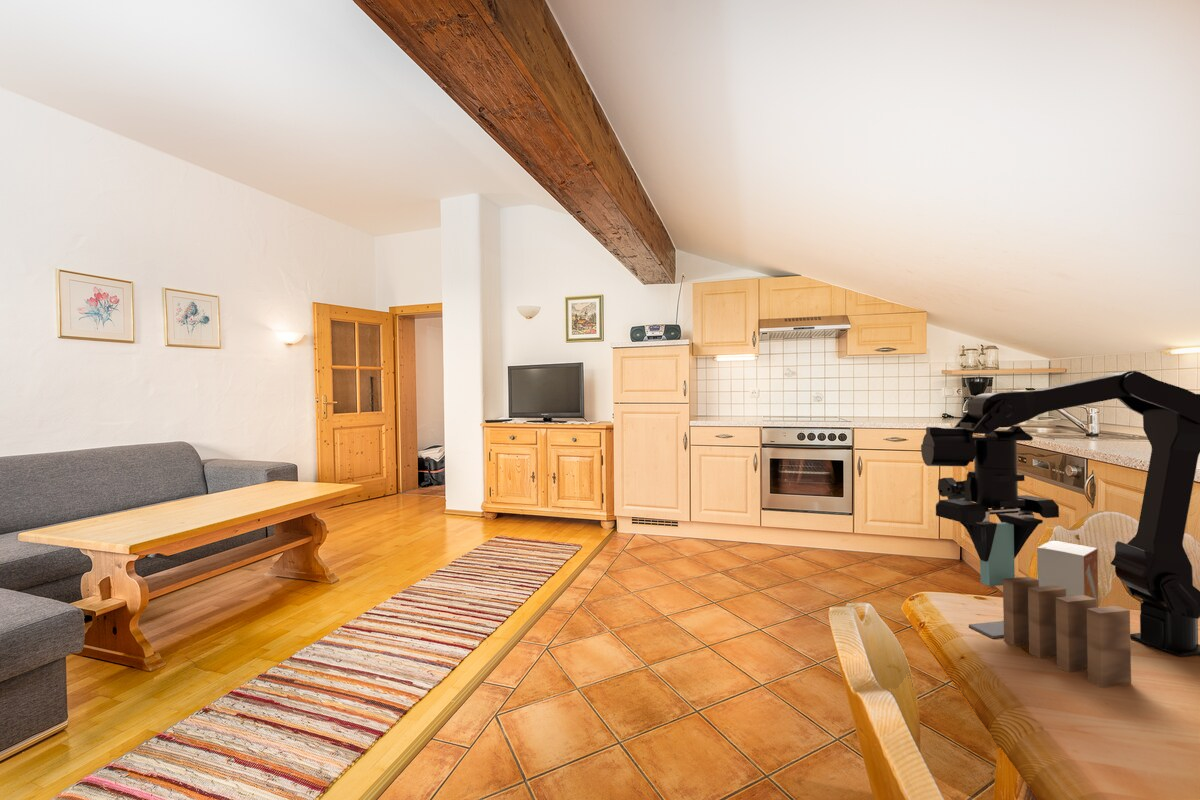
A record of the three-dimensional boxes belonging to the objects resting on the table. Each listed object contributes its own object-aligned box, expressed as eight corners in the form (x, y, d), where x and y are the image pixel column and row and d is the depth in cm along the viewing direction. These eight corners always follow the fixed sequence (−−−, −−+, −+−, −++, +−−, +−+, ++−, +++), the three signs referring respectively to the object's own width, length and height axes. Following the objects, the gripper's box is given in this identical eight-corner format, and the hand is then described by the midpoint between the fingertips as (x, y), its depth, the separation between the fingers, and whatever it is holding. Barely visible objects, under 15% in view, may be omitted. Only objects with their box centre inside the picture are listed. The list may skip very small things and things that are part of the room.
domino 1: (1005, 580, 86) (1004, 522, 86) (1014, 584, 84) (1013, 524, 84) (980, 583, 85) (979, 523, 85) (989, 586, 83) (988, 526, 84)
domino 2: (1029, 638, 82) (1028, 576, 82) (1040, 642, 80) (1038, 580, 80) (1003, 640, 81) (1002, 578, 81) (1013, 645, 79) (1012, 582, 80)
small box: (1085, 634, 83) (1084, 555, 83) (1036, 621, 88) (1035, 546, 88) (1100, 622, 87) (1098, 547, 87) (1052, 610, 93) (1051, 539, 93)
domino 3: (1056, 649, 78) (1054, 585, 78) (1067, 654, 76) (1066, 589, 76) (1029, 653, 77) (1027, 587, 77) (1039, 658, 75) (1038, 591, 76)
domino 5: (1117, 677, 70) (1115, 605, 70) (1131, 683, 68) (1129, 610, 69) (1087, 681, 69) (1086, 608, 69) (1101, 687, 68) (1100, 613, 68)
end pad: (1003, 623, 87) (1003, 620, 87) (1028, 634, 83) (1028, 632, 83) (968, 626, 86) (968, 624, 86) (992, 638, 82) (992, 635, 82)
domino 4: (1085, 662, 74) (1083, 594, 74) (1097, 668, 72) (1096, 599, 72) (1056, 666, 73) (1055, 597, 73) (1068, 672, 72) (1067, 601, 72)
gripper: (996, 460, 94) (998, 543, 94) (909, 463, 91) (911, 549, 91) (1060, 467, 83) (1062, 561, 83) (964, 471, 80) (966, 569, 80)
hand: (997, 559), depth 85 cm, fingers closed on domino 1, 5 cm apart
